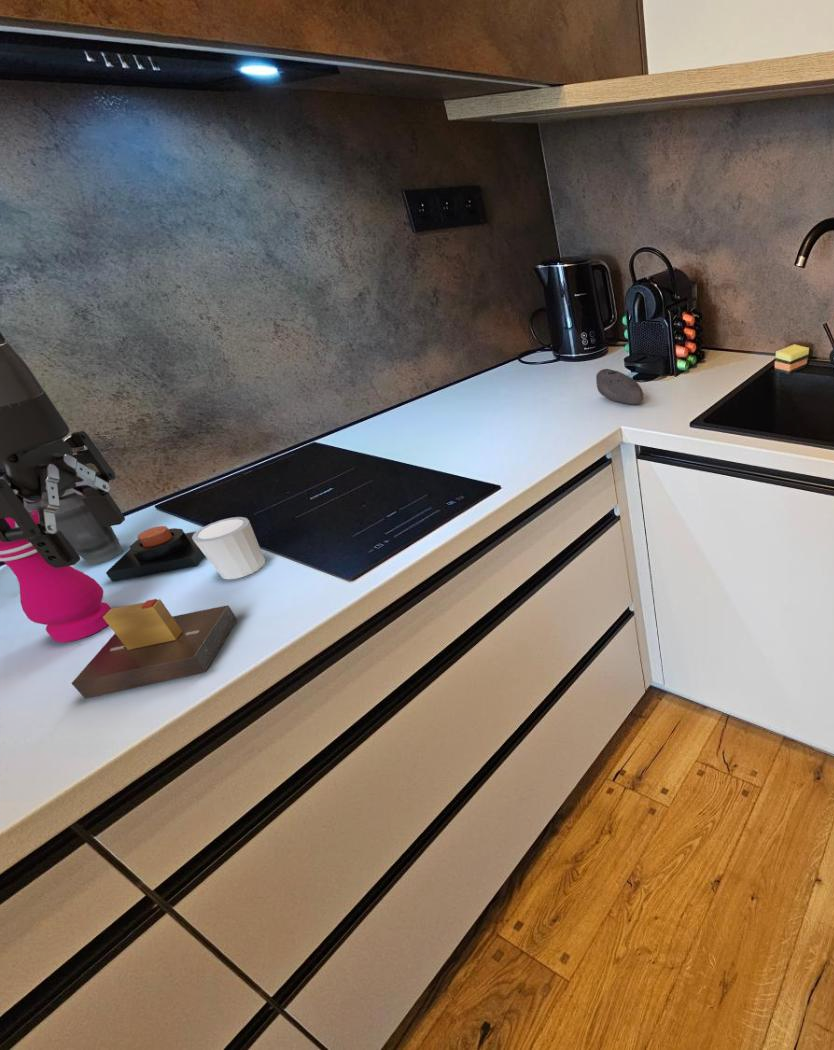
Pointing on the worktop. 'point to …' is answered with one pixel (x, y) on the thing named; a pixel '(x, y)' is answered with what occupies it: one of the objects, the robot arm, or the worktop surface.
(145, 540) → the button
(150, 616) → the lock knob
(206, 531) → the white cup
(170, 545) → the block
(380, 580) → the worktop surface
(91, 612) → the pepper mill
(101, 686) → the plate
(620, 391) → the perforated stone tool
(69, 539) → the beverage cup
